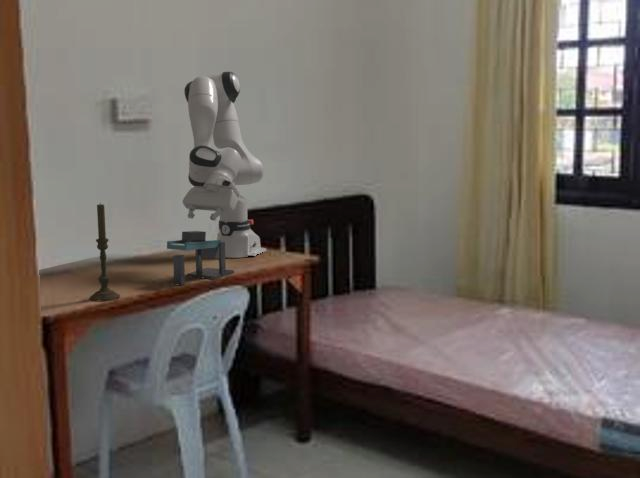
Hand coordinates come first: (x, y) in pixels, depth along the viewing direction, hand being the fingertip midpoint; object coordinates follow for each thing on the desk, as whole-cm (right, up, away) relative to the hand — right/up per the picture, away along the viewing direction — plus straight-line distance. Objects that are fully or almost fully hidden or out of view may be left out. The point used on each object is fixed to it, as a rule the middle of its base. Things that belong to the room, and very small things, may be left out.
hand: (201, 218), depth 280 cm
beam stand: (-1, -21, +2) cm, 21 cm away
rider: (-4, -7, -6) cm, 10 cm away
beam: (-1, -14, 0) cm, 14 cm away
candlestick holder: (-26, -26, -27) cm, 45 cm away
